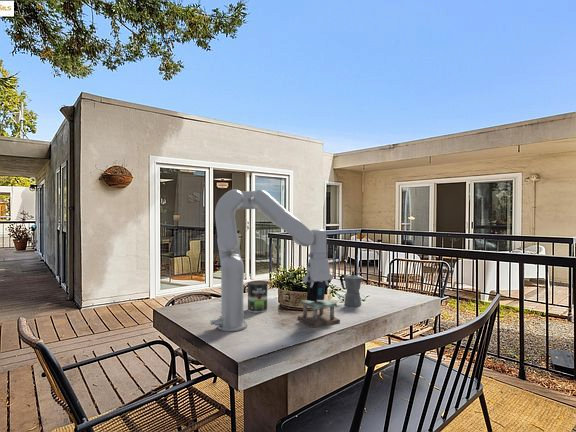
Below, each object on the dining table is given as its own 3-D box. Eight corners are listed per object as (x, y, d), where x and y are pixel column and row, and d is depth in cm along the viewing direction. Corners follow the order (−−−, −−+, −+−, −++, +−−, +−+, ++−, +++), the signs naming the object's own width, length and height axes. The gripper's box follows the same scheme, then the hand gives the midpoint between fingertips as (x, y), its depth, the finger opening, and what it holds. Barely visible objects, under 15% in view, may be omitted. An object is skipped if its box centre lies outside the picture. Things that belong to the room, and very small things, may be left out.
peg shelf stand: (313, 327, 149) (313, 307, 149) (297, 318, 161) (297, 300, 161) (339, 322, 155) (339, 303, 155) (322, 314, 168) (322, 297, 168)
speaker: (314, 302, 152) (315, 278, 153) (306, 300, 157) (307, 277, 158) (327, 301, 157) (328, 278, 158) (319, 299, 161) (320, 277, 162)
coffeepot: (368, 305, 186) (368, 272, 186) (358, 308, 179) (357, 274, 179) (345, 300, 197) (344, 268, 197) (334, 303, 190) (334, 270, 190)
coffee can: (269, 311, 173) (269, 284, 173) (249, 313, 170) (249, 285, 170) (265, 306, 183) (265, 280, 183) (246, 308, 180) (246, 281, 180)
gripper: (306, 258, 151) (305, 298, 151) (338, 256, 159) (338, 294, 159) (297, 256, 157) (297, 295, 157) (329, 254, 165) (329, 291, 165)
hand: (318, 294), depth 158 cm, fingers closed on speaker, 6 cm apart
